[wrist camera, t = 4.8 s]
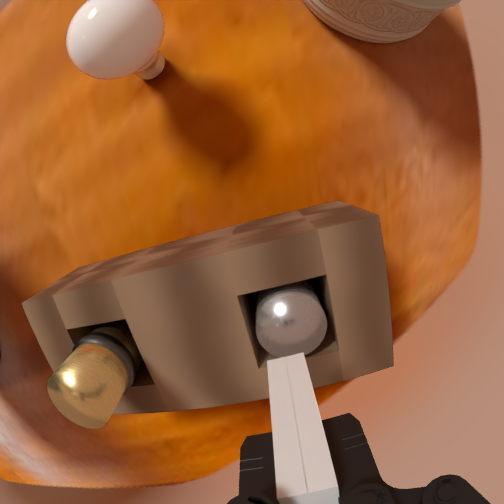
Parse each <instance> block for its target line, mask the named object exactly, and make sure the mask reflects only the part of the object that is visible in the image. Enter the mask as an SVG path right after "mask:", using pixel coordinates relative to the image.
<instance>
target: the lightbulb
mask: <svg viewBox="0 0 504 504" xmlns="http://www.w3.org/2000/svg"><path fill="white" fill-rule="evenodd" d="M164 29H165V25H164V18H163V15H162V12H161V10H160V8H159V6H158V5H157V4H156V2H155V1H154V0H88V1H87V2H86V3H85V4H84V5H83V6H82V7H81V8H80V9H79V10H78V11H77V12H76V14H75V15H74V17H73V19H72V20H71V23H70V25H69V28H68V31H67V37H66V45H67V51H68V54H69V57H70V59H71V61H72V62H73V64H74V65H75V66H76V67H77V68H78V69H79V70H80V71H81V72H83V73H84V74H86V75H88V76H90V77H93V78H97V79H104V80H112V79H119V78H123V77H126V76H129V75H131V74H133V73H134V74H135V75H137V76H138V77H140V78H141V79H152V78H154V77H156V76H158V75H159V74H160V73H161V72H162V70H163V68H164V66H165V59H164V56H163V55H162V54H161V53H160V52H159V48H160V45H161V43H162V40H163V36H164Z"/></svg>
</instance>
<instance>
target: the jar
mask: <svg viewBox="0 0 504 504" xmlns="http://www.w3.org/2000/svg"><path fill="white" fill-rule="evenodd" d="M460 1H461V0H303V2H304V3H305V4H306V6H307V7H308V8H309V9H310V10H311V11H312V13H313V14H315V15H316V16H317V17H318V18H319V19H320V20H321V21H323V22H324V23H326V24H327V25H329V26H330V27H332V28H333V29H335V30H337V31H339V32H341V33H343V34H345V35H347V36H350V37H352V38H355V39H358V40H362V41H366V42H371V43H394V42H399V41H402V40H405V39H408V38H411V37H413V36H415V35H417V34H418V33H420V32H421V31H422V30H424V29H425V28H426V27H427V26H428V25H429V23H430V22H431V21H432V20H433V19H434V18H435V17H437V16H438V15H439V14H440V13H442V12H443V11H444V10H446V9H447V8H450V7H453V6H455V5H456V4H458V3H459V2H460Z"/></svg>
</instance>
